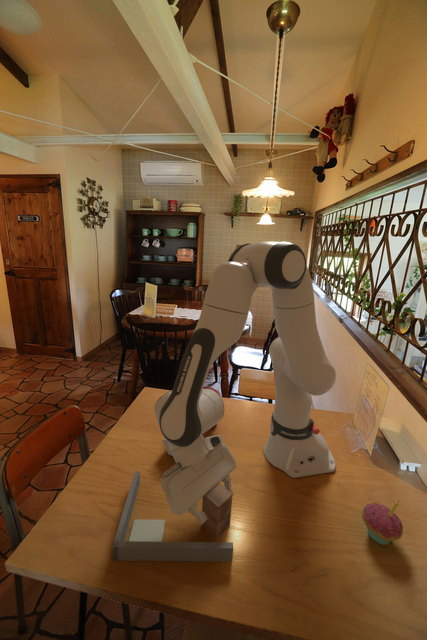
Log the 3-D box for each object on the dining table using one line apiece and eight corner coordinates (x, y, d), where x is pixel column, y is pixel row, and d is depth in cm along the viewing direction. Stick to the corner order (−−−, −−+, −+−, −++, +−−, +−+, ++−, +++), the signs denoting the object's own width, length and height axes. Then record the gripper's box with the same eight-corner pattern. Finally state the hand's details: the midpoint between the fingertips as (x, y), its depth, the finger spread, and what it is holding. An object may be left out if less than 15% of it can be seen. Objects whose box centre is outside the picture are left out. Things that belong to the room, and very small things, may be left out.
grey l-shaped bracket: (226, 484, 81) (227, 473, 80) (232, 561, 62) (233, 548, 61) (135, 482, 80) (135, 471, 79) (113, 560, 61) (112, 547, 60)
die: (196, 450, 94) (187, 420, 96) (192, 457, 85) (182, 424, 88) (172, 459, 94) (163, 429, 96) (166, 466, 85) (156, 433, 88)
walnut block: (215, 511, 73) (217, 481, 70) (229, 525, 70) (232, 493, 67) (201, 524, 69) (202, 493, 66) (216, 539, 66) (218, 507, 63)
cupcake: (393, 525, 72) (404, 488, 68) (403, 559, 64) (416, 520, 60) (356, 513, 74) (365, 477, 71) (361, 545, 66) (372, 506, 63)
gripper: (163, 474, 62) (192, 540, 58) (224, 432, 76) (250, 482, 73) (152, 478, 66) (178, 539, 62) (212, 437, 80) (236, 485, 77)
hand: (217, 508), depth 68 cm, fingers open, 8 cm apart
